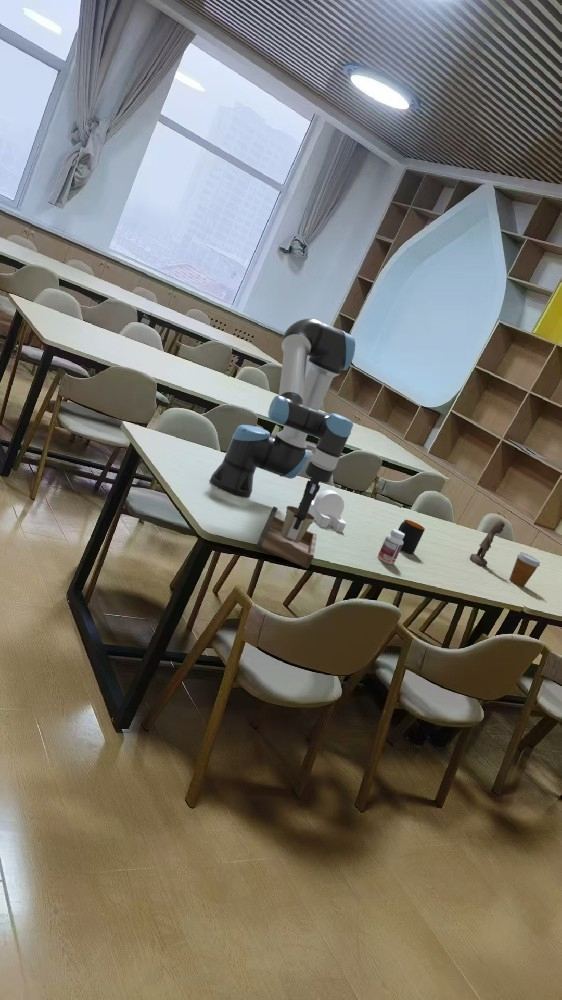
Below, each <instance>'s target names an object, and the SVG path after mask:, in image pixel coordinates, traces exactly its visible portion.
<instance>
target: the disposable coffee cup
mask: <svg viewBox="0 0 562 1000" xmlns="http://www.w3.org/2000/svg"><path fill="white" fill-rule="evenodd" d="M516 557H517V558H516V560H515V562H514V566H513V568H512V570H511V574H510V577H509V581H510V582H511V583H513V584H515V585H516V586H519V587H522V588H524V587H525V586H526V584H527V583H528V581H529V580H530V578H531V577H532V576H533V575H534V573H535V572H536V570H537V568H538V567H540V564H541V561H540V560H539V559H538V558H535V557H534V556H532V555H529V554H528V553H525V552H519V553H518V554H517V556H516Z"/></svg>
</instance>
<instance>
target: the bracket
mask: <svg viewBox="0 0 562 1000" xmlns="http://www.w3.org/2000/svg"><path fill="white" fill-rule="evenodd" d="M344 508H345V502H344V499H343V497H342V496H341V495H339V493H338V492H336V491H335V490H332V489H327V490H323V491H322V492H320V493H319V494H318V495H316V497H315V499H314V500H312V503H311V505H310V507H309V511H308V513H310V514H311V515H313V516H314V517H315V519H316V520H315V521H314V522H316V524H317V525H318V526H320V527H322V528H325V529H327V528H328V527H329V526H331V527H332V528H333V530H335V531H336V532H339V533H341V534H342V533H343V532H344V531H345V527H346V526H347V522H346V521H345V520H344V519H343V518H342V517H341V516H342V514H343V512H344Z"/></svg>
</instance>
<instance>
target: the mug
mask: <svg viewBox="0 0 562 1000" xmlns="http://www.w3.org/2000/svg"><path fill="white" fill-rule="evenodd" d="M397 530H399V531H401V532H402V533H404V534H405V536H404V538H403V539H402V540H403V546H402V548H401V550H400V552H403V553H406V554H409V555H413V554H414V553H415V551H416V549H417V547H418V545H419V543H420V541H421V538H422V536H423V535H424V532H425V530H426V529H425V527H424V526H422V525H421V524H419V523H417V522H414V521H412V520H409V519H404V520H403V522H402V523H401V524H400V525H399V527H398V529H397Z"/></svg>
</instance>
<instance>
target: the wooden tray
mask: <svg viewBox="0 0 562 1000" xmlns="http://www.w3.org/2000/svg"><path fill="white" fill-rule="evenodd" d="M278 509H279V508H278V507H276V506H272V509H271V510H270V513H269V515H268V517H267V519H266V522H265V524H264V527H263V529H262V531H261V533H260V536H259V539H258V541H257V544H256V545H255V546H256V548H257V549H260V550H263V551H264V552H267V553H270V554H272V555H274V556H277V557H279V558H282V559H283V560H286V561H289V562H290V563H294V564H295V565H299V566H301V567H303V568H305V569H307V570H308V569H309V568H310V566H311V564H312V561H313V560H314V557H315V551H316V544H317V538H318V534H316V533H314V532H311V531H309V530H307V531H306V532H305V534H304V536H303V537H302V539H301V541H300V542H299V543H295V542H294V541H289V540H287V539H285V538H283V537H282V535H281V531H282V528H283V524H284V521H285V520H283V519H281V518H278V517H276V514H277V511H278Z"/></svg>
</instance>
